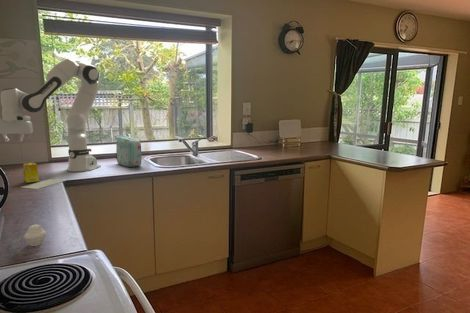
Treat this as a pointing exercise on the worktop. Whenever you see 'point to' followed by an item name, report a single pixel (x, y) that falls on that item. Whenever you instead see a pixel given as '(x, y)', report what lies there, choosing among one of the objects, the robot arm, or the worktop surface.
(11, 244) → the worktop surface
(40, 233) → the muffin
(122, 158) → the lunch box
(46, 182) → the mat
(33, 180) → the supplement box
